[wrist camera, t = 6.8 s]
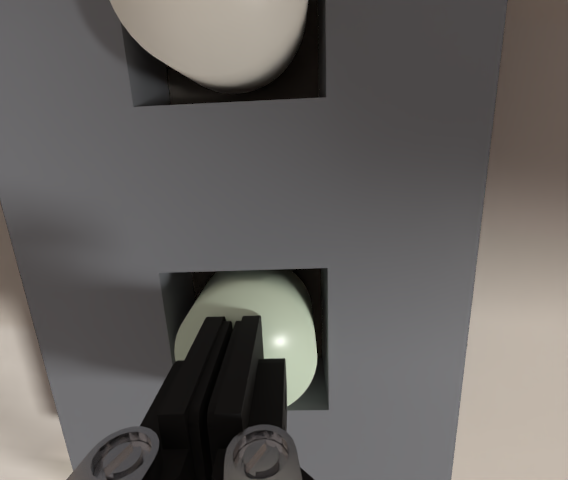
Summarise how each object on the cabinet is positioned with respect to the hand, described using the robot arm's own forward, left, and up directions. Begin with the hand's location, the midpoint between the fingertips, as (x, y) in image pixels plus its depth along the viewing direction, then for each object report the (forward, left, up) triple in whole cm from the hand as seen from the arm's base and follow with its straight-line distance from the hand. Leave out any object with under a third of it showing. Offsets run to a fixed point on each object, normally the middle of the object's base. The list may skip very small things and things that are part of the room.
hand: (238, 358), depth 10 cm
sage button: (0, 0, -3) cm, 3 cm away
